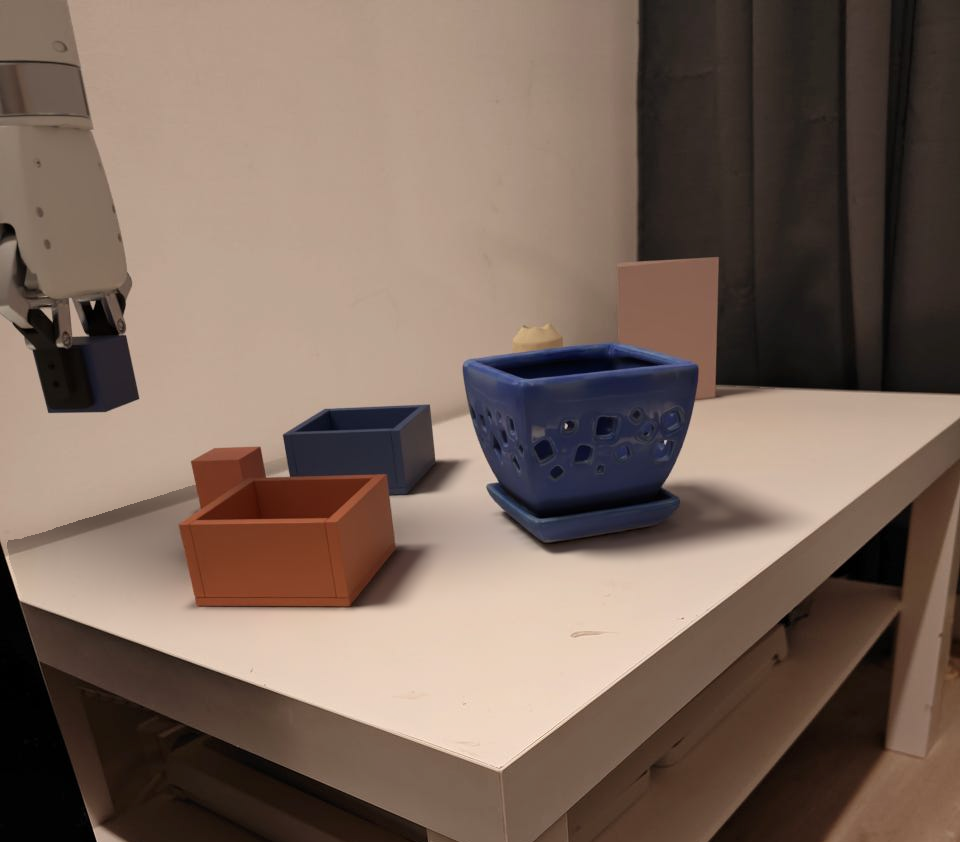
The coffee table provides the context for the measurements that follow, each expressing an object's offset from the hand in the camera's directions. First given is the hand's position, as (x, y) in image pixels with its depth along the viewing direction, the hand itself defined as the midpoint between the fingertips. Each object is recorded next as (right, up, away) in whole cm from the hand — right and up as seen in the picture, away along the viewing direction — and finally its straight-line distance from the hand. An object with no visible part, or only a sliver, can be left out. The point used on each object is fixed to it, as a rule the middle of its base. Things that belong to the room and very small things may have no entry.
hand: (92, 397), depth 66 cm
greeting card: (+48, +10, +42) cm, 65 cm away
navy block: (0, -1, 0) cm, 1 cm away
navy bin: (+17, -2, +21) cm, 27 cm away
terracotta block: (+6, -5, +17) cm, 18 cm away
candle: (+34, +8, +39) cm, 53 cm away
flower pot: (+35, -8, +5) cm, 36 cm away
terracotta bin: (+15, -13, -2) cm, 20 cm away
